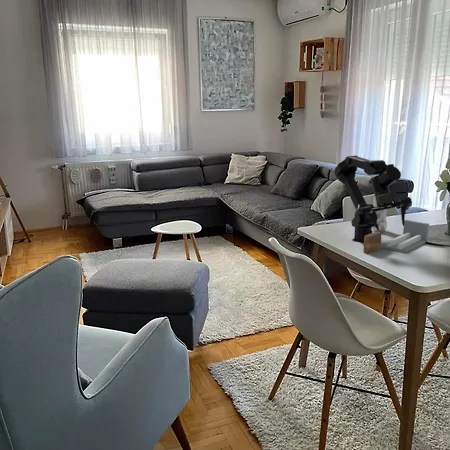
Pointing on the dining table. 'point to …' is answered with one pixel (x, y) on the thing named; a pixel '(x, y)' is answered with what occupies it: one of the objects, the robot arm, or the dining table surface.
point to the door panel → (372, 242)
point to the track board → (409, 237)
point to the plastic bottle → (380, 218)
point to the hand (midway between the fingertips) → (391, 228)
